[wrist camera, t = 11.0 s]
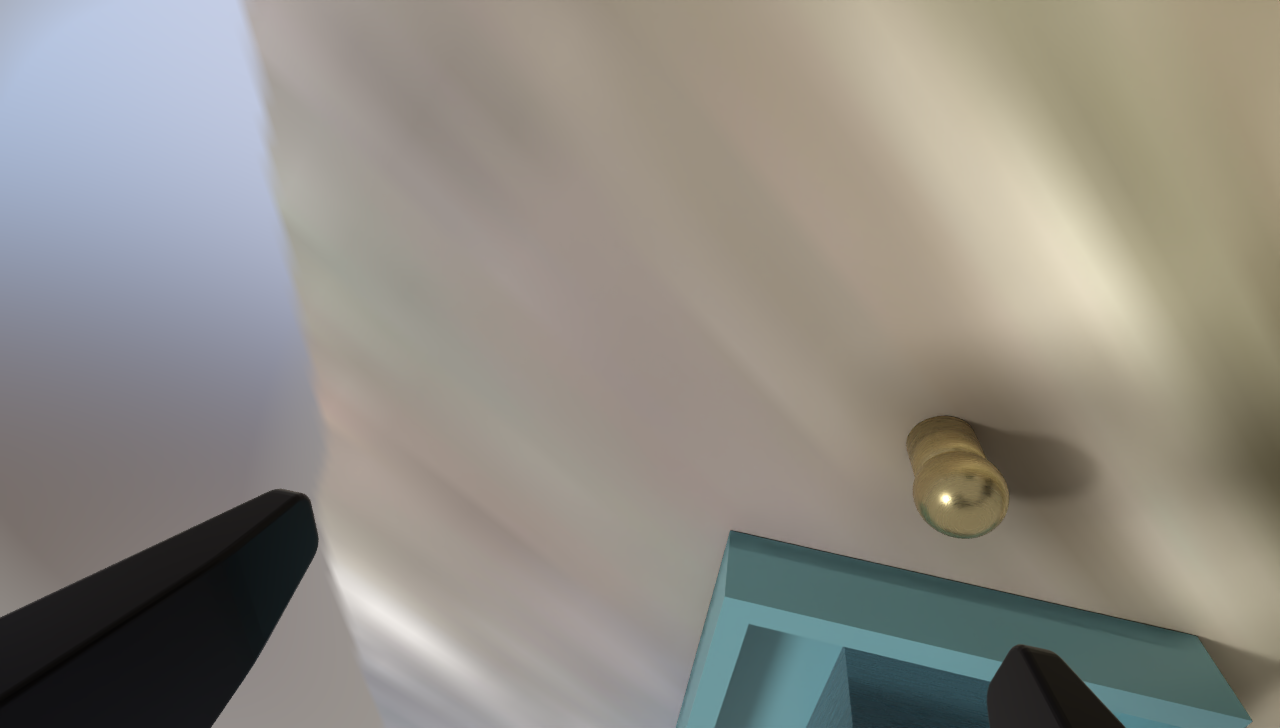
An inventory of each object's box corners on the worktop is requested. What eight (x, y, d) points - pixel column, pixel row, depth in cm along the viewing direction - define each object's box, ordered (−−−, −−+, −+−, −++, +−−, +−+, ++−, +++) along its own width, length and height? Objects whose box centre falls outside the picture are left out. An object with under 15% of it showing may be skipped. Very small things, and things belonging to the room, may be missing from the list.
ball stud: (996, 419, 19) (1037, 500, 16) (965, 480, 21) (998, 566, 17) (914, 403, 20) (940, 479, 16) (889, 464, 21) (908, 545, 18)
